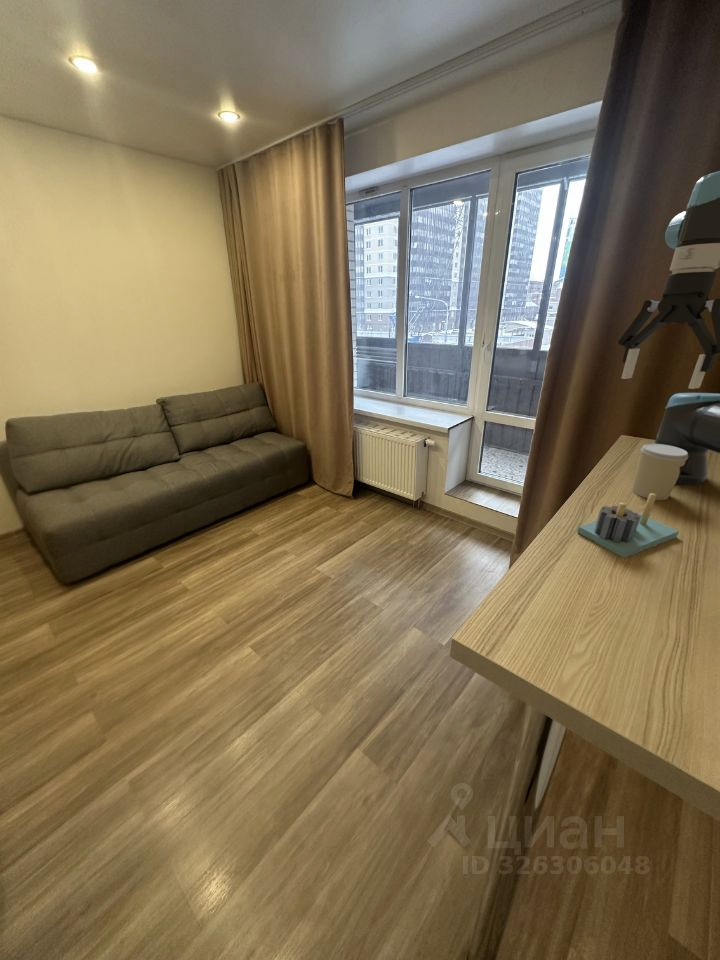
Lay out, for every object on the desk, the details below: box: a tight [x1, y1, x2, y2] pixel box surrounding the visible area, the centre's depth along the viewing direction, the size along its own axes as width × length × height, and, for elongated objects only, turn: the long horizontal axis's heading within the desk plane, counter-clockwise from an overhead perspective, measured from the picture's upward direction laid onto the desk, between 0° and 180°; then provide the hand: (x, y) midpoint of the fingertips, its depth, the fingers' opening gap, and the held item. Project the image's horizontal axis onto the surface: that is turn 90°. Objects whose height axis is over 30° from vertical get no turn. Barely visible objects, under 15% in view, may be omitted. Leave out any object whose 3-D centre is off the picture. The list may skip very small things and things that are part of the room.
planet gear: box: [594, 505, 639, 543], centre depth 75 cm, size 6×6×5 cm
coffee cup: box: [631, 443, 688, 501], centre depth 94 cm, size 9×9×12 cm
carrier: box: [577, 493, 680, 559], centre depth 77 cm, size 17×10×8 cm, turn 114°
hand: (657, 382), depth 82 cm, fingers open, 13 cm apart
